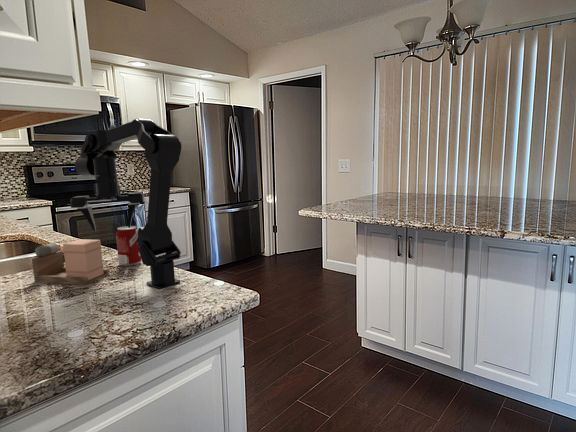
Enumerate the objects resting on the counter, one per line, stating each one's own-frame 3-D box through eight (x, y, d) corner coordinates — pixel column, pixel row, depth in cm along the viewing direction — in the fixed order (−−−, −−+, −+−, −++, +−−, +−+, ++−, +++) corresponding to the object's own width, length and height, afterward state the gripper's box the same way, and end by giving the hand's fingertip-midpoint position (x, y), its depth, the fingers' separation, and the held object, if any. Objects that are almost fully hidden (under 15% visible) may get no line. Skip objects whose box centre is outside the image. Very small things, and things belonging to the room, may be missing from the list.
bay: (109, 274, 110) (105, 242, 109) (86, 285, 102) (82, 250, 100) (58, 271, 114) (55, 241, 113) (32, 281, 106) (28, 248, 104)
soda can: (126, 268, 116) (122, 230, 114) (114, 265, 120) (111, 228, 118) (145, 263, 122) (142, 226, 120) (134, 260, 126) (131, 224, 124)
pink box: (104, 273, 109) (100, 239, 107) (88, 280, 103) (84, 244, 101) (83, 272, 110) (79, 239, 109) (66, 279, 105) (62, 244, 103)
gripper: (142, 173, 118) (147, 222, 120) (76, 176, 112) (82, 228, 114) (140, 173, 107) (145, 227, 109) (66, 177, 102) (74, 234, 104)
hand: (112, 229), depth 109 cm, fingers open, 9 cm apart
